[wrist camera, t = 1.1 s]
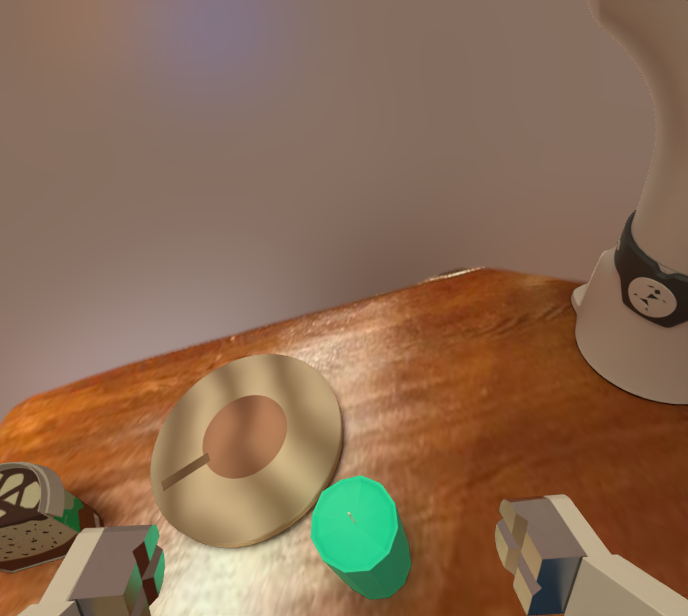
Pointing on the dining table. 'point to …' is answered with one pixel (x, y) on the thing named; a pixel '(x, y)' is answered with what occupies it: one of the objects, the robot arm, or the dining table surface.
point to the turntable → (247, 451)
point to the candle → (362, 537)
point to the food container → (38, 517)
